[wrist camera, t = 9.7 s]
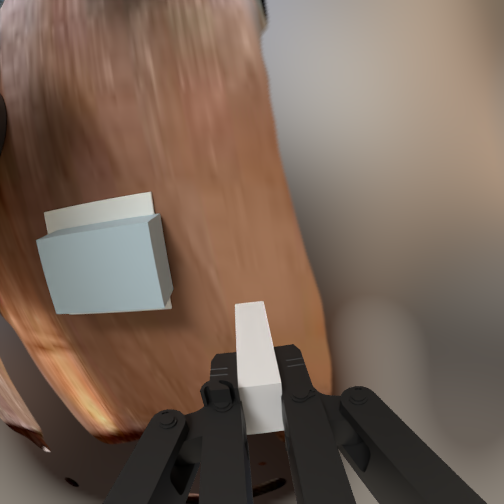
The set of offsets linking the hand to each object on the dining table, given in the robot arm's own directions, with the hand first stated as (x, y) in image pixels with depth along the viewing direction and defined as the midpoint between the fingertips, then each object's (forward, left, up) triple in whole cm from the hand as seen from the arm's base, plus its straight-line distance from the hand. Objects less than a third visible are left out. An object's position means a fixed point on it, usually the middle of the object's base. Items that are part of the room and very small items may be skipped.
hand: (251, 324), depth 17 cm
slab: (-9, 0, -16) cm, 18 cm away
